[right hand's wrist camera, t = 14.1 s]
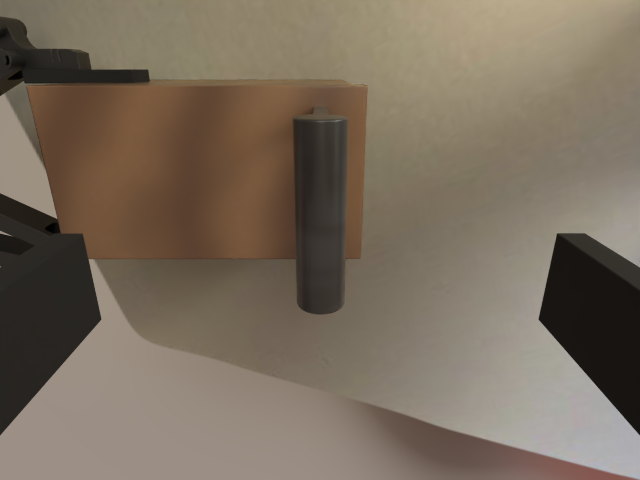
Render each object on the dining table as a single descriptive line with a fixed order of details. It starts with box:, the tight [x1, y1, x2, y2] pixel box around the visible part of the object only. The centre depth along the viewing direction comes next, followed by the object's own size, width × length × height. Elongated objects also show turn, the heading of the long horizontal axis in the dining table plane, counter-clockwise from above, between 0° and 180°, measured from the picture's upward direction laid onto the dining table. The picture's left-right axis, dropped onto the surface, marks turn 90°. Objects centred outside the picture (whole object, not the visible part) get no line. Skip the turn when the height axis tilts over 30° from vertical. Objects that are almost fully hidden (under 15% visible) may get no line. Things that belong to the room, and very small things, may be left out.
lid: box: [27, 85, 367, 314], centre depth 20 cm, size 17×9×9 cm, turn 90°
